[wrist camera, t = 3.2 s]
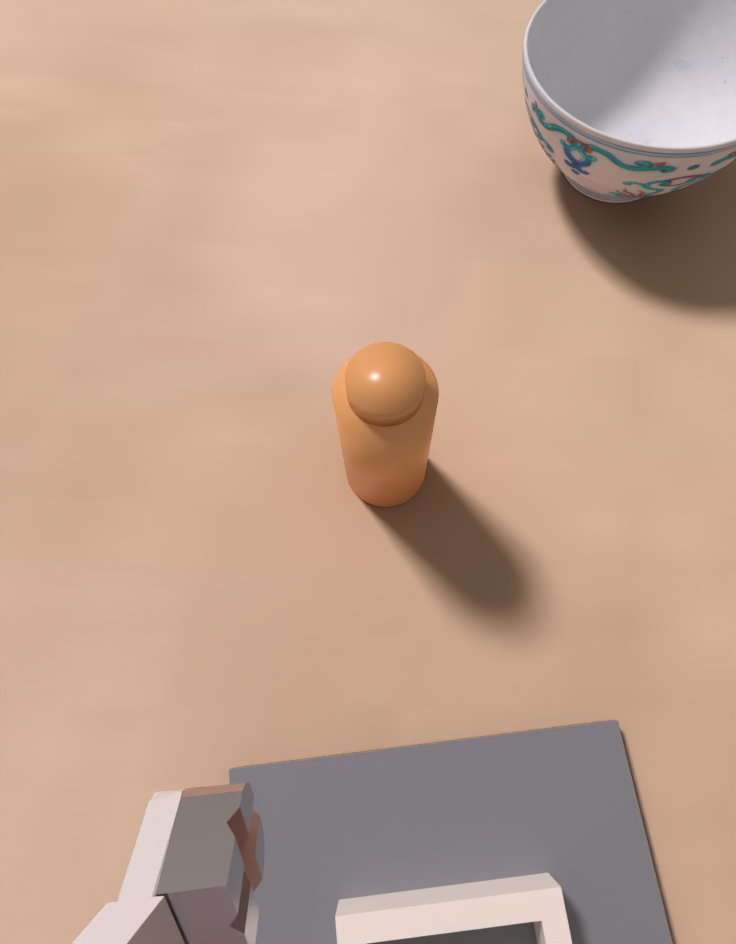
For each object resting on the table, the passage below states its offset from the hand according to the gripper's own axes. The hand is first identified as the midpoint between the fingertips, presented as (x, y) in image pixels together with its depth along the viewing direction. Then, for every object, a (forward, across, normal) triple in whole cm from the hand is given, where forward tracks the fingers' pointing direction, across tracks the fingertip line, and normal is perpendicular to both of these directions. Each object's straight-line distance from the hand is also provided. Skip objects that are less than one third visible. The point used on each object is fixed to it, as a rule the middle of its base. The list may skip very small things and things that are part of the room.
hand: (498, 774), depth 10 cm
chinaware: (+38, -17, -9) cm, 42 cm away
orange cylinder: (+23, +1, +5) cm, 24 cm away
